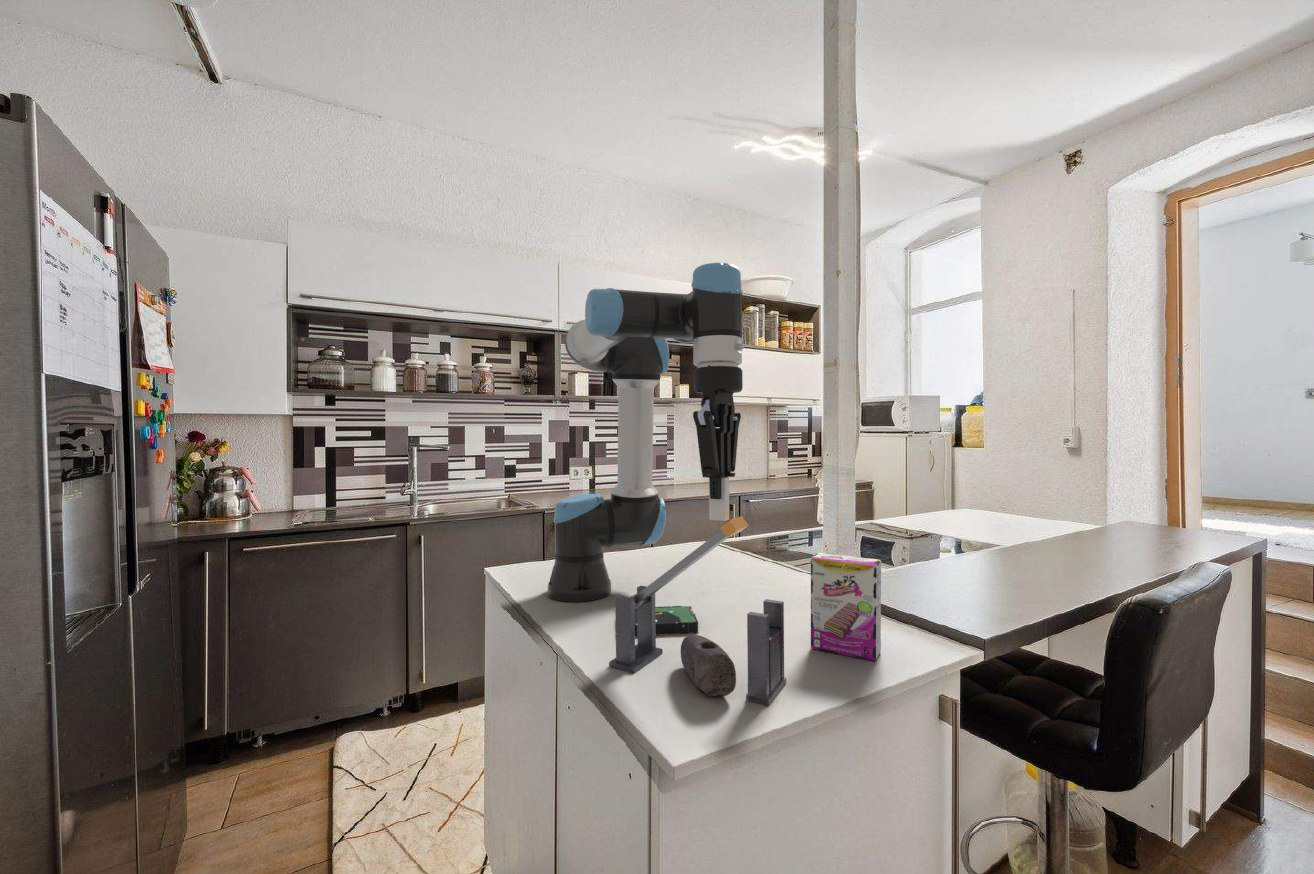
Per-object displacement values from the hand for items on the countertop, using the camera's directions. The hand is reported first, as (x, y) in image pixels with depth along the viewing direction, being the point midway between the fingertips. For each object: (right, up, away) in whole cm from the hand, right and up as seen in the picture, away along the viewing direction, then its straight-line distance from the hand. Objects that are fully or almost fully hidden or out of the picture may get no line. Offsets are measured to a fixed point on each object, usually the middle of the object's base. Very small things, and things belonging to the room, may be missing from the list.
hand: (719, 519), depth 85 cm
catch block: (+7, -25, -3) cm, 26 cm away
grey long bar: (-5, -9, +3) cm, 11 cm away
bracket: (-13, -25, +8) cm, 29 cm away
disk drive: (-9, -26, +25) cm, 37 cm away
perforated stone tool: (-3, -25, 0) cm, 25 cm away
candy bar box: (+23, -25, +11) cm, 36 cm away
